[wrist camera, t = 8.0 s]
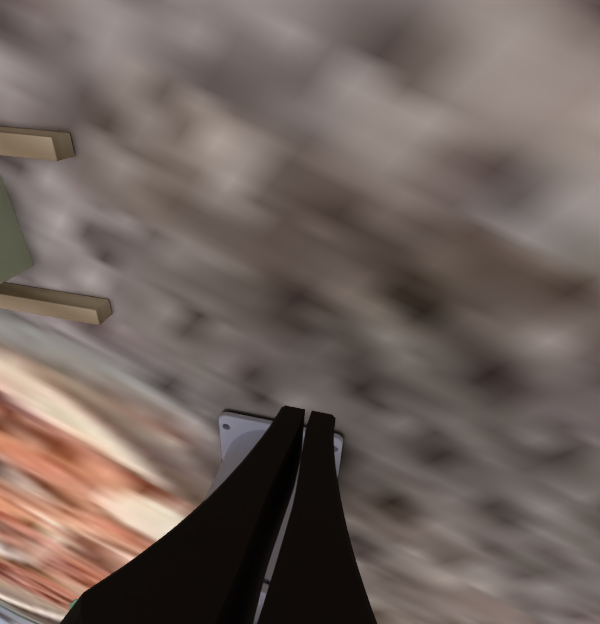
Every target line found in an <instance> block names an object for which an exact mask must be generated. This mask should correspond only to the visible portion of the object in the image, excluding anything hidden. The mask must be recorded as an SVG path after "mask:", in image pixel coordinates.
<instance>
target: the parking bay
mask: <svg viewBox="0 0 600 624" xmlns="http://www.w3.org/2000/svg"><path fill="white" fill-rule="evenodd" d="M0 155H6V156H15V157H25V158H34V159H43V160H52V161H59V160H62V159H65V158H69V157H72V156H75V154H74V150H73V146H72V141H71V137H70V133H64V132H53V131H43V130H33V129H22V128H12V127H1V126H0ZM0 308H4V309H10V310H16V311H22V312H27V313H33V314H39V315H44V316H50V317H56V318H62V319H67V320H73V321H79V322H84V323H90V324H96V325H100V324H101V323H103V322H104V321H105V320H106V319H107V318H108V317H109V316H111V315H112V312H111V308H110V303H109V300H108V299H102V298H95V297H89V296H83V295H77V294H71V293H65V292H59V291H53V290H47V289H40V288H34V287H28V286H22V285H16V284H10V283H4V282H3V283H2V284H0Z"/></svg>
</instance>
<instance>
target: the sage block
mask: <svg viewBox="0 0 600 624" xmlns="http://www.w3.org/2000/svg"><path fill="white" fill-rule="evenodd" d="M31 266H33V262H32V259H31V256H30V254H29V251H28V248H27V246H26V243H25V240H24V237H23V235H22V232H21V229H20V227H19V224H18V221H17V218H16V216H15V213H14V210H13V208H12V205H11V202H10V200H9V197H8V194H7V191H6V189H5V186H4V183H3V181H2V178H1V177H0V284H2V283H3V282H5V281H7V280H9V279H10V278H12V277H14V276H16V275H17V274H19V273H21V272H22V271H24V270H26V269H28V268H29V267H31Z"/></svg>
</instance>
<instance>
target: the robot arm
mask: <svg viewBox="0 0 600 624" xmlns="http://www.w3.org/2000/svg"><path fill="white" fill-rule="evenodd" d="M304 416H305V409H300V408H295V407H290V406H284V407H282V408H281V409H280V411H279V413H278V414H277V416H276V417H275V419H274V421H271V420H266V419H261V418H256V417H251V416H246V415H241V414H236V413H231V412H222V413H221V415H220V417H219V428H220V440H221V452H222V463H221V465H220V468H219V470H218V472H217V474H216V476H215V479H214V481H213V483H212V485H211V488H210V490H209V492H208V494H207V496H206V499H205V501H204V502H203V503H201V504H200V505H199V506H198V507H197V508H196V509H195V510H194V511H193V512H192V513H190V514H189V515H188V516H187V517H186V518H185V519H184V520H182V521H181V522H180V523H179V524H178V525H177V526H175V527H174V528H173V529H172V530H171V531H169V532H168V533H167V534H166V535H164V536H163V537H162V538H161V539H159V540H158V541H157V542H155V543H154V544H153V545H151V546H150V547H149V548H147V549H146V550H145V551H143V552H142V553H141V554H139V555H138V556H137V557H135V558H134V559H133V560H131V561H130V562H129V563H127V564H126V565H124V566H123V567H121V568H120V569H118V570H117V571H115V572H114V573H112V574H111V575H109V576H108V577H106V578H105V579H103V580H102V581H100V582H99V583H97V584H96V585H94V586H93V587H91V588H90V589H88V590H87V591H85V592H84V593H83V594H82V595H81V596H80V597H79V599H78V600H77V601H76V603H75V604H74V605H73V606H72V608H71V609H70V611H69V612H68V613H67V615H66V616H65V617H64V619H63V620H62V621H61V623H60V624H377V622H376V619H375V616H374V614H373V611H372V608H371V605H370V602H369V599H368V596H367V593H366V591H365V588H364V585H363V582H362V579H361V576H360V573H359V570H358V566H357V563H356V559H355V556H354V552H353V549H352V545H351V541H350V538H349V534H348V530H347V526H346V522H345V517H344V513H343V508H342V503H341V498H340V492H339V486H338V472H339V466H340V459H341V452H342V446H343V438H342V436H340V435H339V434H336V433H334V426H335V419H336V418H335V417H334V416H333V415H331V414H326V413H321V412H316V411H312V412H311V415H310V418H309V421H308V424H307V427H304ZM227 424H228V425H227ZM334 446H335V447H334Z"/></svg>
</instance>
